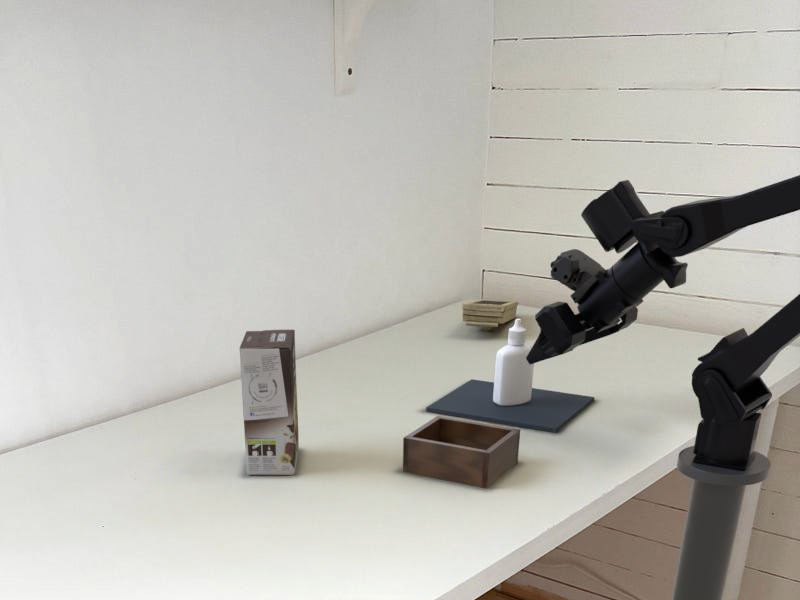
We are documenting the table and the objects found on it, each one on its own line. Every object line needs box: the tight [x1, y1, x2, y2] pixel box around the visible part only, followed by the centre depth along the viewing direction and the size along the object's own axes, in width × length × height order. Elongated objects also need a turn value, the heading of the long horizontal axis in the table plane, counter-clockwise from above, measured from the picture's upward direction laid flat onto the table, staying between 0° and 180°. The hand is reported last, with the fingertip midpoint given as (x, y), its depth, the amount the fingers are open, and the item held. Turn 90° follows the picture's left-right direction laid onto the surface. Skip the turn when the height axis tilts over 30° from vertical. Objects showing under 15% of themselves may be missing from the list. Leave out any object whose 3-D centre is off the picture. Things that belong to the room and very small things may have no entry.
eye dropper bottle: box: [493, 318, 535, 406], centre depth 143 cm, size 4×6×12 cm
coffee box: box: [239, 329, 300, 476], centre depth 125 cm, size 9×6×16 cm
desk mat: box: [425, 378, 595, 433], centre depth 146 cm, size 20×16×1 cm
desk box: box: [402, 415, 521, 489], centre depth 125 cm, size 12×10×4 cm
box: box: [461, 299, 519, 331], centre depth 187 cm, size 8×22×5 cm, turn 164°
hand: (546, 354), depth 139 cm, fingers open, 9 cm apart
